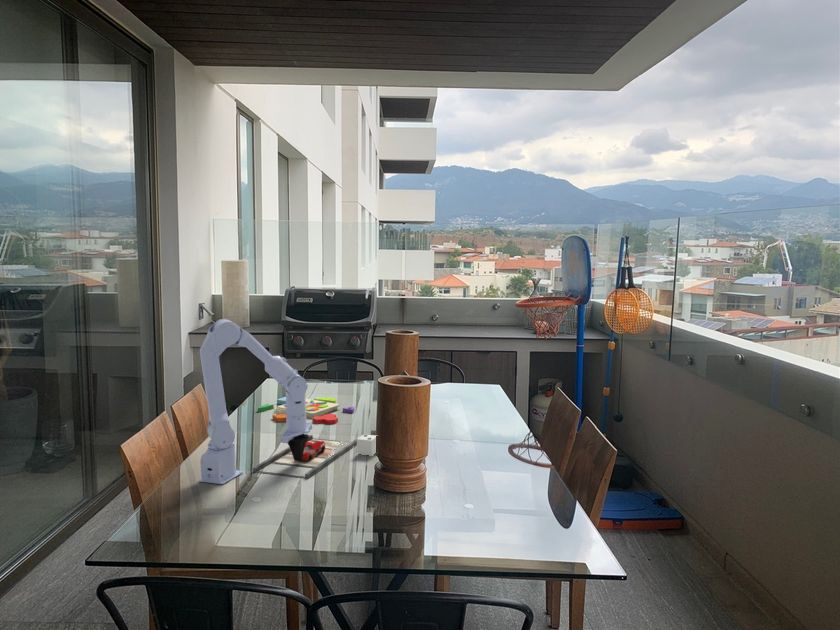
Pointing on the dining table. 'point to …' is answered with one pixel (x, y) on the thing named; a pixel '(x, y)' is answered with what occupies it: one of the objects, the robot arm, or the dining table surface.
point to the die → (366, 445)
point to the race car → (313, 449)
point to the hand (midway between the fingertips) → (298, 459)
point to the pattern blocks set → (309, 410)
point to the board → (315, 463)
